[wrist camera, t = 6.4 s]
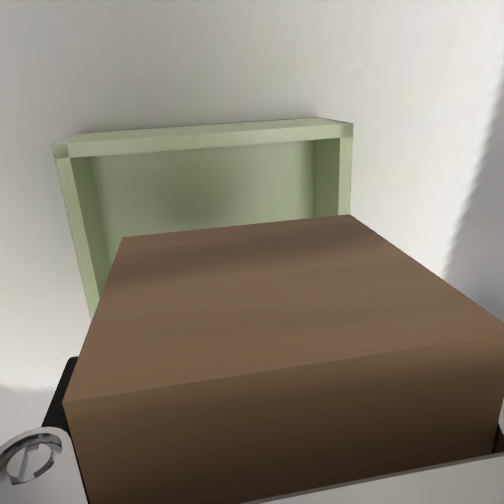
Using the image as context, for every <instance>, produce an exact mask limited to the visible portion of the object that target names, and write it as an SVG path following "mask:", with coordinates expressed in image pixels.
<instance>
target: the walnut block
mask: <svg viewBox="0 0 504 504" xmlns="http://www.w3.org/2000/svg"><path fill="white" fill-rule="evenodd" d="M503 398H504V323H503V322H502V321H501V320H499V319H498V318H496V317H495V316H494V315H492V314H491V313H489V312H488V311H486V310H485V309H484V308H482V307H481V306H479V305H478V304H477V303H475V302H474V301H472V300H471V299H469V298H468V297H467V296H465V295H464V294H462V293H461V292H459V291H458V290H457V289H455V288H454V287H452V286H451V285H450V284H448V283H447V282H445V281H444V280H442V279H441V278H440V277H438V276H437V275H435V274H434V273H432V272H431V271H430V270H428V269H427V268H425V267H424V266H423V265H421V264H420V263H418V262H417V261H415V260H414V259H413V258H411V257H410V256H408V255H407V254H405V253H404V252H403V251H401V250H400V249H398V248H397V247H395V246H394V245H393V244H391V243H390V242H388V241H387V240H386V239H384V238H383V237H381V236H380V235H378V234H377V233H376V232H374V231H373V230H371V229H370V228H368V227H367V226H366V225H364V224H363V223H361V222H360V221H359V220H357V219H356V218H354V217H353V216H351V215H350V214H346V215H336V216H326V217H316V218H307V219H297V220H287V221H277V222H267V223H257V224H247V225H237V226H228V227H218V228H208V229H198V230H188V231H178V232H168V233H158V234H149V235H139V236H129V237H122V240H121V242H120V245H119V248H118V251H117V253H116V256H115V259H114V262H113V264H112V267H111V270H110V273H109V275H108V278H107V281H106V283H105V286H104V289H103V292H102V294H101V297H100V300H99V303H98V305H97V308H96V311H95V314H94V316H93V319H92V322H91V325H90V327H89V330H88V333H87V335H86V338H85V341H84V344H83V346H82V349H81V352H80V355H79V357H78V360H77V363H76V366H75V368H74V371H73V374H72V376H71V379H70V382H69V385H68V387H67V390H66V393H65V396H64V398H63V401H62V404H63V408H64V411H65V415H66V418H67V422H68V425H69V429H70V433H71V436H72V440H73V443H74V447H75V451H76V454H77V458H78V461H79V465H80V469H81V472H82V476H83V479H84V483H85V487H86V490H87V494H88V497H89V501H90V504H239V503H244V502H249V501H254V500H259V499H264V498H269V497H274V496H279V495H284V494H289V493H294V492H299V491H304V490H309V489H314V488H319V487H324V486H329V485H334V484H339V483H345V482H350V481H355V480H360V479H365V478H370V477H375V476H380V475H385V474H390V473H396V472H401V471H406V470H411V469H416V468H421V467H427V466H432V465H437V464H442V463H448V462H453V461H458V460H463V459H469V458H474V457H479V456H484V455H490V454H491V453H492V448H493V444H494V439H495V435H496V430H497V426H498V421H499V417H500V412H501V408H502V403H503Z"/></svg>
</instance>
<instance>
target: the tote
mask: <svg viewBox="0 0 504 504" xmlns="http://www.w3.org/2000/svg"><path fill="white" fill-rule="evenodd" d="M352 140H353V123H348V122H342V121H336V120H331V119H325V118H319V117H316V118H301V119H286V120H271V121H256V122H241V123H226V124H211V125H196V126H181V127H166V128H151V129H136V130H121V131H106V132H91V133H78V134H75V135H73V136H70V137H68V138H66V139H63V140H61V141H58V142H56V143H54V144H52V149H53V153H54V157H55V162H56V166H57V171H58V175H59V180H60V184H61V189H62V193H63V197H64V202H65V206H66V211H67V215H68V220H69V224H70V229H71V233H72V237H73V242H74V246H75V251H76V255H77V260H78V264H79V269H80V273H81V278H82V282H83V286H84V291H85V295H86V300H87V304H88V309H89V313H90V318H91V322H92V319H93V316H94V314H95V311H96V308H97V305H98V303H99V300H100V297H101V294H102V292H103V289H104V286H105V283H106V281H107V278H108V275H109V273H110V270H111V267H112V264H113V262H114V259H115V256H116V253H117V251H118V248H119V245H120V242H121V240H122V237H129V236H139V235H149V234H158V233H168V232H178V231H188V230H198V229H208V228H218V227H228V226H237V225H247V224H257V223H267V222H277V221H287V220H297V219H307V218H316V217H326V216H336V215H346V214H350V192H351V166H352Z"/></svg>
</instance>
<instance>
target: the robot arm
mask: <svg viewBox="0 0 504 504" xmlns="http://www.w3.org/2000/svg"><path fill="white" fill-rule="evenodd" d="M78 357H79V356H77V357H71V358H69V360H68V362H67V364H66V366H65V369H64V371H63V374H62V376H61V379H60V381H59V384H58V386H57V389H56V391H55V394H54V396H53V399H52V401H51V404H50V406H49V408H48V411H47V414H46V416H45V418H44V421H43V423H42V426H41V428H36V429H32V430H29V431H26V432H24V433H22V434H19V435H17V436H15V437H13V438H12V439H10V440H9V441H7V442H6V443H5V444H3V445H2V446H1V447H0V504H90V501H89V497H88V494H87V490H86V487H85V483H84V479H83V476H82V472H81V469H80V465H79V461H78V458H77V454H76V451H75V447H74V443H73V440H72V436H71V433H70V429H69V425H68V422H67V418H66V415H65V411H64V408H63V404H62V401H63V398H64V396H65V393H66V390H67V387H68V385H69V382H70V379H71V376H72V374H73V371H74V368H75V366H76V363H77V360H78ZM239 504H504V398H503V403H502V408H501V412H500V417H499V421H498V426H497V430H496V435H495V439H494V444H493V448H492V453H491V454H490V455H484V456H479V457H474V458H469V459H463V460H458V461H453V462H448V463H442V464H437V465H432V466H427V467H421V468H416V469H411V470H406V471H401V472H396V473H390V474H385V475H380V476H375V477H370V478H365V479H360V480H355V481H350V482H345V483H339V484H334V485H329V486H324V487H319V488H314V489H309V490H304V491H299V492H294V493H289V494H284V495H279V496H274V497H269V498H264V499H259V500H254V501H249V502H244V503H239Z"/></svg>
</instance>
